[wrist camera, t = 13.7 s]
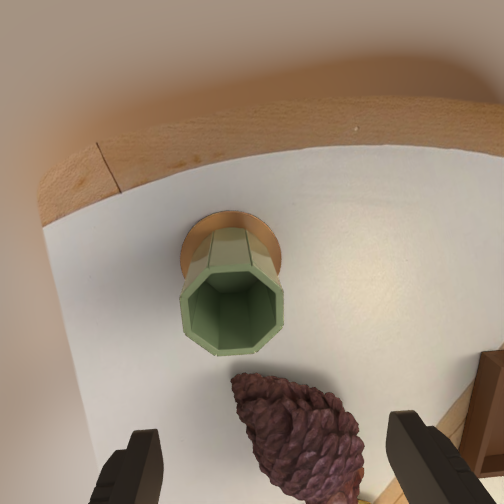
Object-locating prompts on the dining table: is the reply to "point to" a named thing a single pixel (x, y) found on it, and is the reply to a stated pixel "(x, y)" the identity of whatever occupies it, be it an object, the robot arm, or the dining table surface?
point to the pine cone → (301, 438)
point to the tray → (486, 419)
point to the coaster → (225, 221)
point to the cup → (231, 294)
